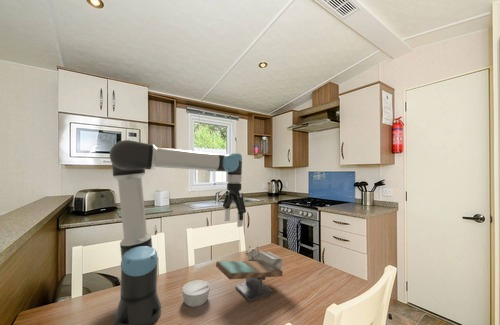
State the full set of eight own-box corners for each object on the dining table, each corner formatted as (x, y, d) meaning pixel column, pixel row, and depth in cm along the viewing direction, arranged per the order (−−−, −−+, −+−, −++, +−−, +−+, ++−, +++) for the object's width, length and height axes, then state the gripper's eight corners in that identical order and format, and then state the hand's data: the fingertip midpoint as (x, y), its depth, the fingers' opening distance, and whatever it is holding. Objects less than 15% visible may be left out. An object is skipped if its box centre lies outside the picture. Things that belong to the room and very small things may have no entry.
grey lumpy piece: (255, 265, 128) (264, 250, 130) (254, 266, 120) (264, 250, 122) (243, 256, 130) (252, 242, 133) (241, 256, 122) (251, 241, 125)
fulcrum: (249, 302, 87) (250, 283, 87) (235, 288, 97) (235, 271, 97) (272, 293, 93) (273, 276, 94) (257, 280, 103) (257, 265, 104)
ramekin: (203, 310, 81) (203, 296, 81) (176, 306, 84) (176, 293, 84) (213, 294, 92) (214, 281, 92) (189, 290, 95) (190, 278, 95)
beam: (230, 282, 81) (234, 261, 82) (214, 267, 93) (218, 248, 94) (283, 278, 95) (286, 260, 96) (263, 265, 107) (265, 249, 108)
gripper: (253, 184, 104) (252, 228, 103) (229, 181, 125) (228, 217, 124) (240, 184, 100) (239, 230, 99) (217, 181, 121) (216, 219, 120)
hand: (233, 223), depth 112 cm, fingers open, 13 cm apart
